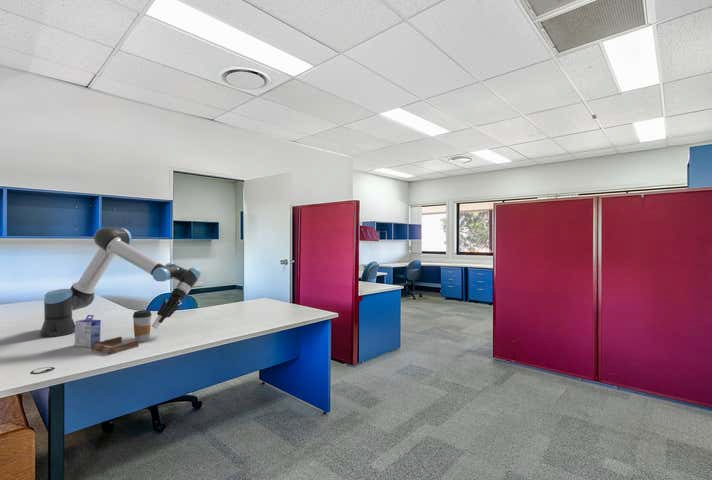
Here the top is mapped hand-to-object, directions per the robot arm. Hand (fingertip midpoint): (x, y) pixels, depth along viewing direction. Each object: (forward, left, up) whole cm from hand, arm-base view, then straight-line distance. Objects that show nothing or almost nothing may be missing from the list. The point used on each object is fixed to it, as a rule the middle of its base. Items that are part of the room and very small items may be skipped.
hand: (154, 327), depth 189 cm
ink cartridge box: (-17, -22, -6) cm, 29 cm away
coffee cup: (0, -6, -6) cm, 9 cm away
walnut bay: (0, -20, -5) cm, 21 cm away
